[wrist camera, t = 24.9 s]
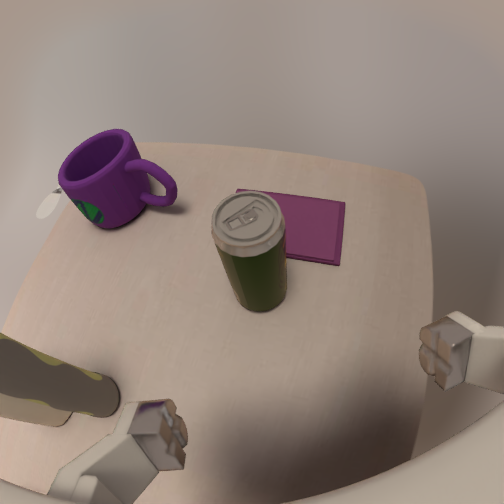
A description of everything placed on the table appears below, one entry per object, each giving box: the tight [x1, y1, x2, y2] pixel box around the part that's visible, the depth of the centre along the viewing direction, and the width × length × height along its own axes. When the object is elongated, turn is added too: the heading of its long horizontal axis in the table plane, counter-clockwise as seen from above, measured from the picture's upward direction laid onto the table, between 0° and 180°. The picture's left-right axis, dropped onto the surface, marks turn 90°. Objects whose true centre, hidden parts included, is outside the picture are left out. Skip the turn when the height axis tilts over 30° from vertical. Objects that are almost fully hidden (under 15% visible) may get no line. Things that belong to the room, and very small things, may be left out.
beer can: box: [211, 191, 287, 311], centre depth 25 cm, size 5×5×12 cm
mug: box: [58, 129, 177, 228], centre depth 35 cm, size 17×11×10 cm, turn 72°
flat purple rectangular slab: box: [236, 189, 345, 266], centre depth 34 cm, size 14×9×1 cm, turn 76°
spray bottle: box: [0, 333, 119, 418], centre depth 17 cm, size 5×5×20 cm
